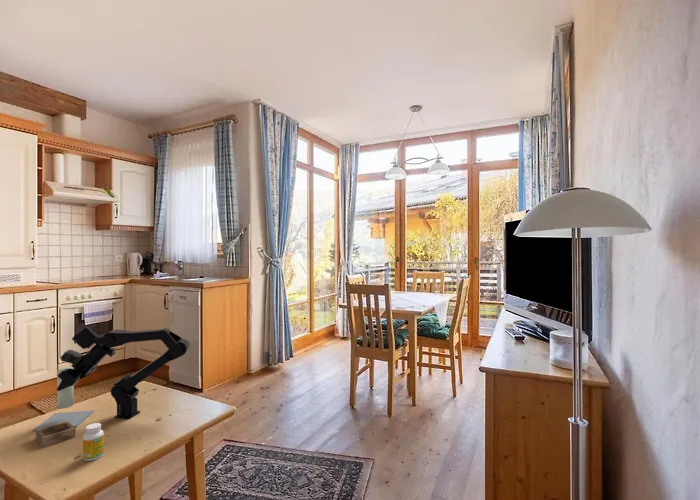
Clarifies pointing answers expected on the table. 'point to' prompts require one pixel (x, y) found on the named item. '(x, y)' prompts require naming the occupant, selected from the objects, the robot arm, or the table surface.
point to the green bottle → (64, 393)
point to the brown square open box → (55, 433)
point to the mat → (66, 418)
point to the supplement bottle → (93, 442)
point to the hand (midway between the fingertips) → (61, 387)
